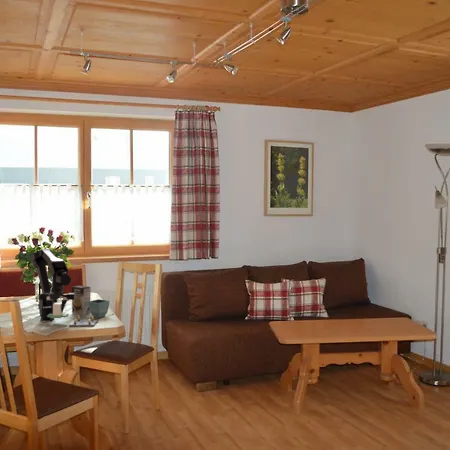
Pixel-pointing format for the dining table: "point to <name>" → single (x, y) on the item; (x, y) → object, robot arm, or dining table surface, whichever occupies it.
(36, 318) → the dining table surface
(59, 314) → the block on green base
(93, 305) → the flower pot
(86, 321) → the chassis
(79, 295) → the coffee box
